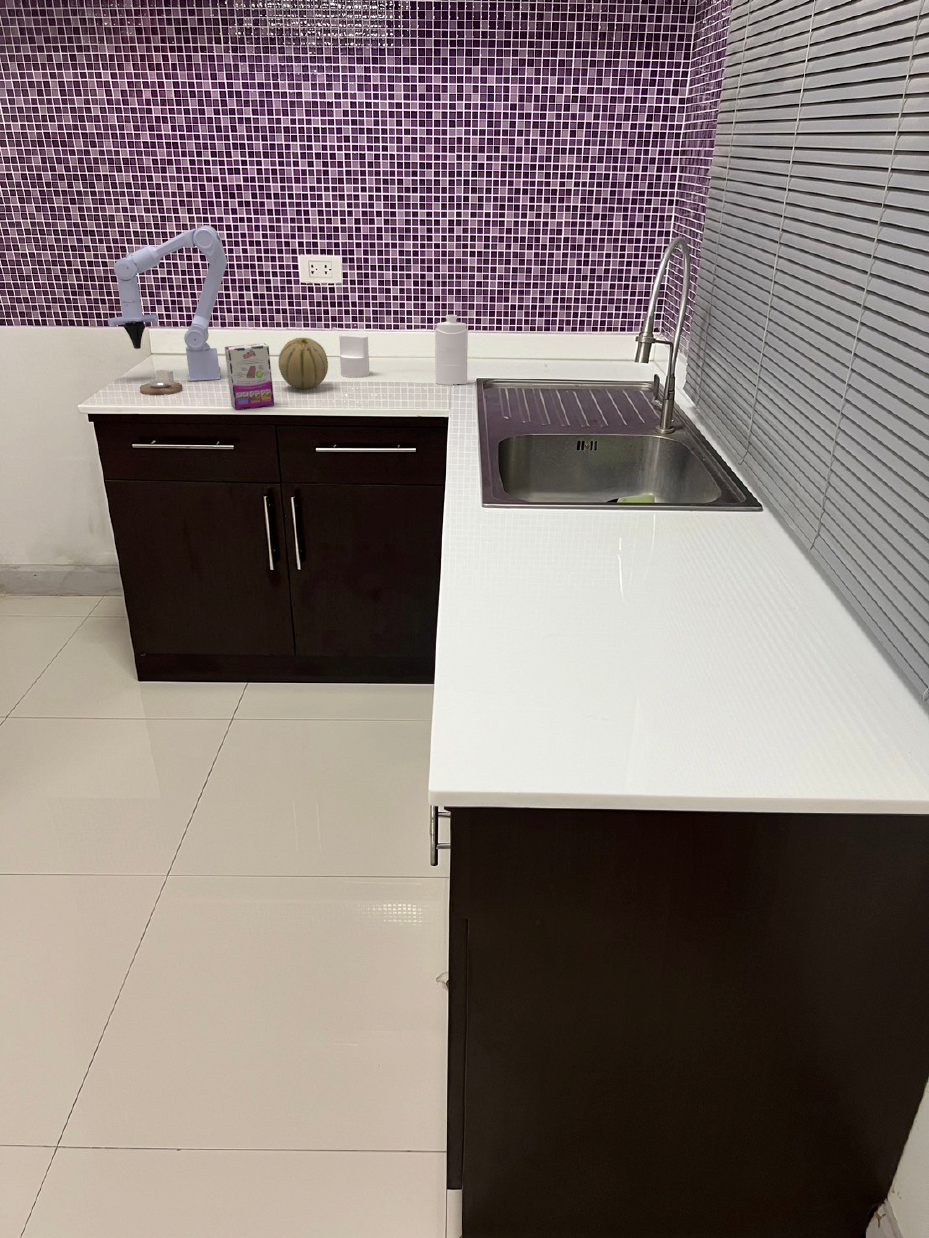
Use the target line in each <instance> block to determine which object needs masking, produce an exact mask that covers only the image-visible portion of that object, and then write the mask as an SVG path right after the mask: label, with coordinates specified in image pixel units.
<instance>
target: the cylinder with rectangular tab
mask: <svg viewBox="0 0 929 1238" xmlns="http://www.w3.org/2000/svg"><path fill="white" fill-rule="evenodd" d="M339 351H340V352H339V359H340V360H339V362H340V376H341V377H344V378H347V379H348V378H350V379H351V378H352V379H354V378H355V379H358V378H359V379H360V378H366V377H369V376H370V374H371V373H370V355H369V336H368V335H360V334H359V335H358V334H348V333H347V334H346V333H342V334H339Z"/></svg>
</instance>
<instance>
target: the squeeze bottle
mask: <svg viewBox="0 0 929 1238" xmlns="http://www.w3.org/2000/svg"><path fill="white" fill-rule="evenodd" d="M457 319H458V315H457V314H446V315H445V321H443V322H437V323H436V328H435V330H434V332H435V333H434V334H435V336H434V340H435V343H434V344H435V358H434V359H435V363H434V364H435V384H436V385H441V386H454V385H453V384H465V385H467V384H468V340H469V339H468V335H469V334H468V333H469V332H468V330H469V329H468V328H467V324H466V323H465V322H459V321H457ZM466 383H467V384H466Z"/></svg>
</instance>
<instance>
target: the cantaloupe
mask: <svg viewBox="0 0 929 1238" xmlns="http://www.w3.org/2000/svg"><path fill="white" fill-rule="evenodd" d="M278 369H279V372H280V375H281V377H282V379H283V380H284V381H285V382H286V384H288V385H290V386H291V387H293V388H296V389H300V390H308V389H313V388H316V387H317V386H319V385H320V384H321V383H322V382H323V381H324V380H325V378H326V376H327V373H328V371H329V361H328V356H327V352H326V351H325V349H324V347H323V346H322V345H321V344H320V343H319V342H317V341H316V340H314V339H312V338H310V337H296V338H294V339H292V340H289V341H287V342H286V344H284V346H283V347H282V348H281V350H280V352H279V355H278Z"/></svg>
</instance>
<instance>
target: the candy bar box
mask: <svg viewBox="0 0 929 1238" xmlns="http://www.w3.org/2000/svg"><path fill="white" fill-rule="evenodd" d="M269 346H270V345H268V344H266V343H265V342H263V343H261V342H260V343H249V344H240V345H230V346H224V354H225V362H226V369H227V370H226V371H227V379H228V380H227V381H228V386H229V395H230V405H231V407H232V408H233V409H234V410H236V411H237V410H240V411H241V410H247V409H248V410H249V409H256V408H267V407H272V406H275V397H274V388H273V387H274V386H273V385H274V384H273V378H272V376H273V375H272V368H271V358H270V347H269Z"/></svg>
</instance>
